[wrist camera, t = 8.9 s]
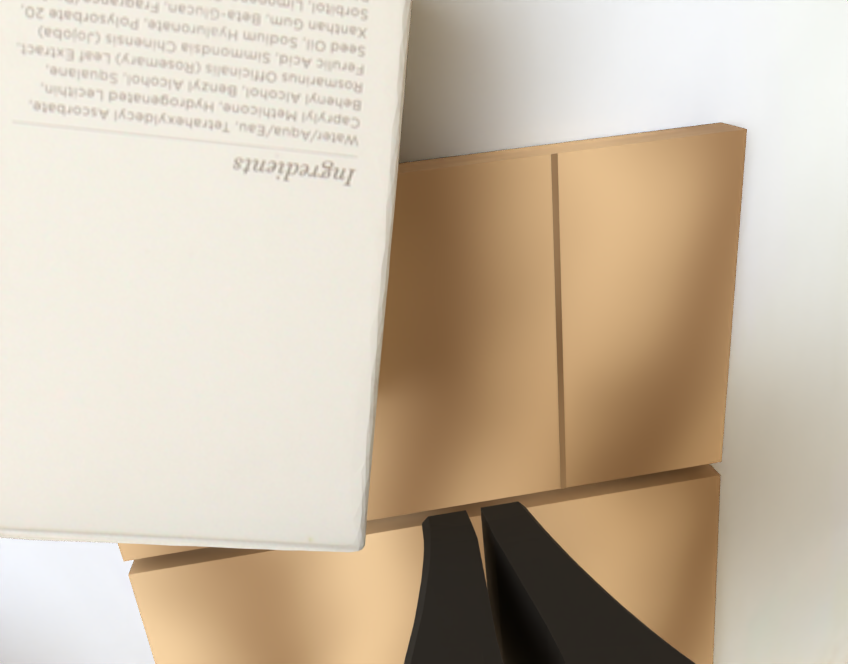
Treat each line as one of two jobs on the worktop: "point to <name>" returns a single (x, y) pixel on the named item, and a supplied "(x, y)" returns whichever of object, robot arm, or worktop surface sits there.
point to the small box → (195, 267)
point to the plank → (402, 571)
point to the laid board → (554, 318)
